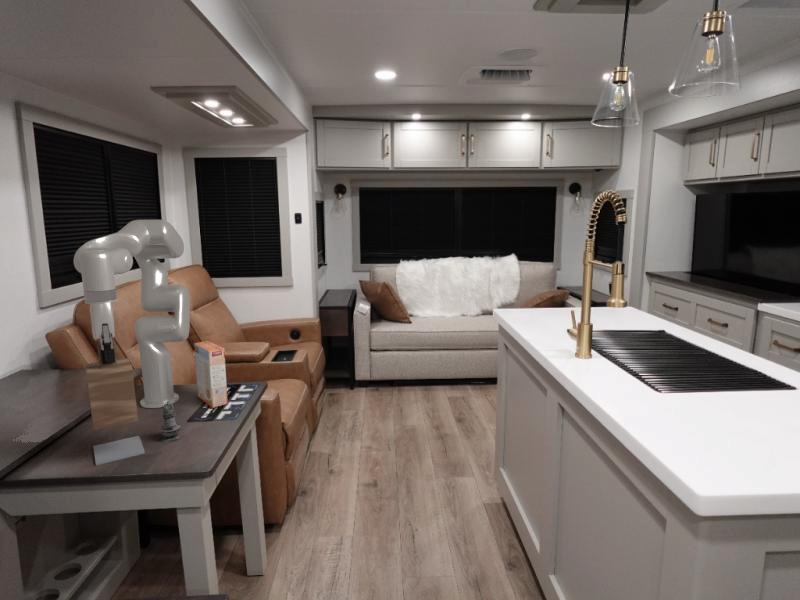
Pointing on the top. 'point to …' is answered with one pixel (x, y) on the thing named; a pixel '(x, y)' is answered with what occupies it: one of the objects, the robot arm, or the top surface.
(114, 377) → the walnut cover
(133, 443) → the slate mat
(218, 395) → the cracker box
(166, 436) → the grey ridged tall piece
